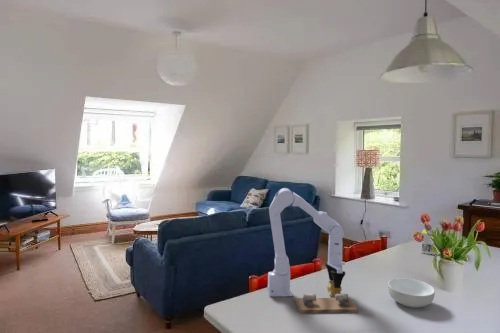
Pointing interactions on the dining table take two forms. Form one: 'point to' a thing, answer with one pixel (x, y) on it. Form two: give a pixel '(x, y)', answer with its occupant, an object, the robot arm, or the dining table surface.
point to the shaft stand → (325, 304)
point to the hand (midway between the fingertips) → (334, 284)
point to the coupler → (333, 289)
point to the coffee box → (427, 245)
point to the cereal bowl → (411, 292)
